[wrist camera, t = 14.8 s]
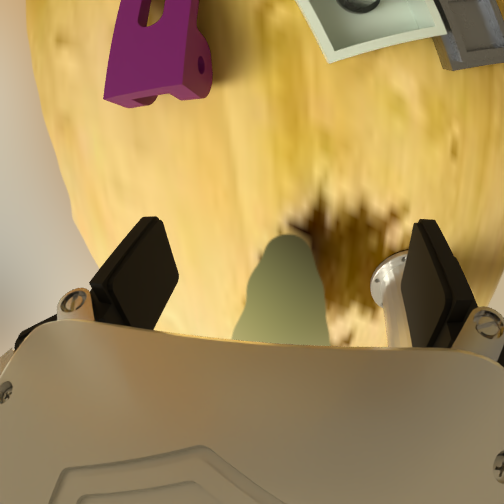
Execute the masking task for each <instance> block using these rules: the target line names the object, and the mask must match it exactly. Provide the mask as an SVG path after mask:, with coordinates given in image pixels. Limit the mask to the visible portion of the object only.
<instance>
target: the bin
mask: <svg viewBox="0 0 504 504" xmlns="http://www.w3.org/2000/svg"><path fill="white" fill-rule="evenodd" d="M295 1H296V3H297V5H298V7H299V8H300V10H301V12H302V14H303V16H304V18H305V19H306V21H307V23H308V25H309V27H310V29H311V31H312V33H313V35H314V37H315V39H316V41H317V43H318V45H319V47H320V49H321V51H322V53H323V55H324V57H325V59H326V61H327V63H329V64H330V63H333V62H336V61H339V60H342V59H345V58H348V57H352V56H355V55H358V54H362V53H365V52H369V51H372V50H376V49H380V48H384V47H388V46H392V45H396V44H400V43H404V42H409V41H413V40H418V39H423V38H428V37H434V36H439V35H445V34H447V32H446V29H445V27H444V24H443V22H442V19H441V17H440V14H439V12H438V10H437V8H436V5H435V3H434V1H433V0H380V3H379V5H378V6H377V7H376V8H375V9H373V10H372V11H370V12H368V13H366V14H353V13H350V12H348V11H346V10H344V9H343V8H342V7H340V6H339V4H338V3H337V1H336V0H295Z"/></svg>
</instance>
